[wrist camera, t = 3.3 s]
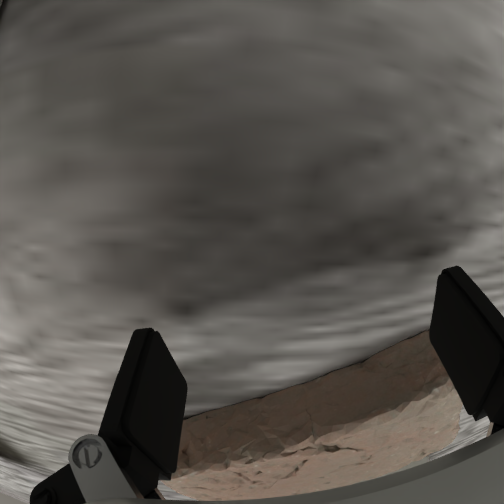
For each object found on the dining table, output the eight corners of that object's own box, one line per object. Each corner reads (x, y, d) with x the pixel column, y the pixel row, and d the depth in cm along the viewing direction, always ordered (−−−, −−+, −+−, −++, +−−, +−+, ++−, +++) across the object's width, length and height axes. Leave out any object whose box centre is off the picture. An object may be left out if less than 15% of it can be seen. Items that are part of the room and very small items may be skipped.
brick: (435, 316, 14) (476, 386, 10) (440, 393, 18) (463, 447, 14) (159, 414, 17) (147, 480, 13) (228, 462, 21) (227, 514, 17)
